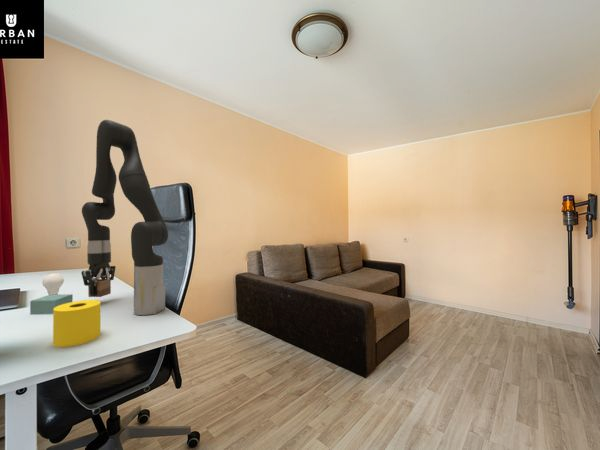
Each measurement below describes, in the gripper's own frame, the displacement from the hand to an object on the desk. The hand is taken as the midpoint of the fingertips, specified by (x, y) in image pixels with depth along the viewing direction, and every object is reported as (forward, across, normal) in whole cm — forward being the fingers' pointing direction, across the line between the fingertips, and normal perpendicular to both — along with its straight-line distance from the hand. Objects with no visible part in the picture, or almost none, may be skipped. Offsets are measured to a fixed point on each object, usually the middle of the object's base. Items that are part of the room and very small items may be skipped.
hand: (99, 293), depth 103 cm
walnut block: (+1, 0, 0) cm, 1 cm away
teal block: (+4, -9, +11) cm, 15 cm away
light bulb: (+4, +4, +25) cm, 25 cm away
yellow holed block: (+5, -30, -20) cm, 37 cm away
